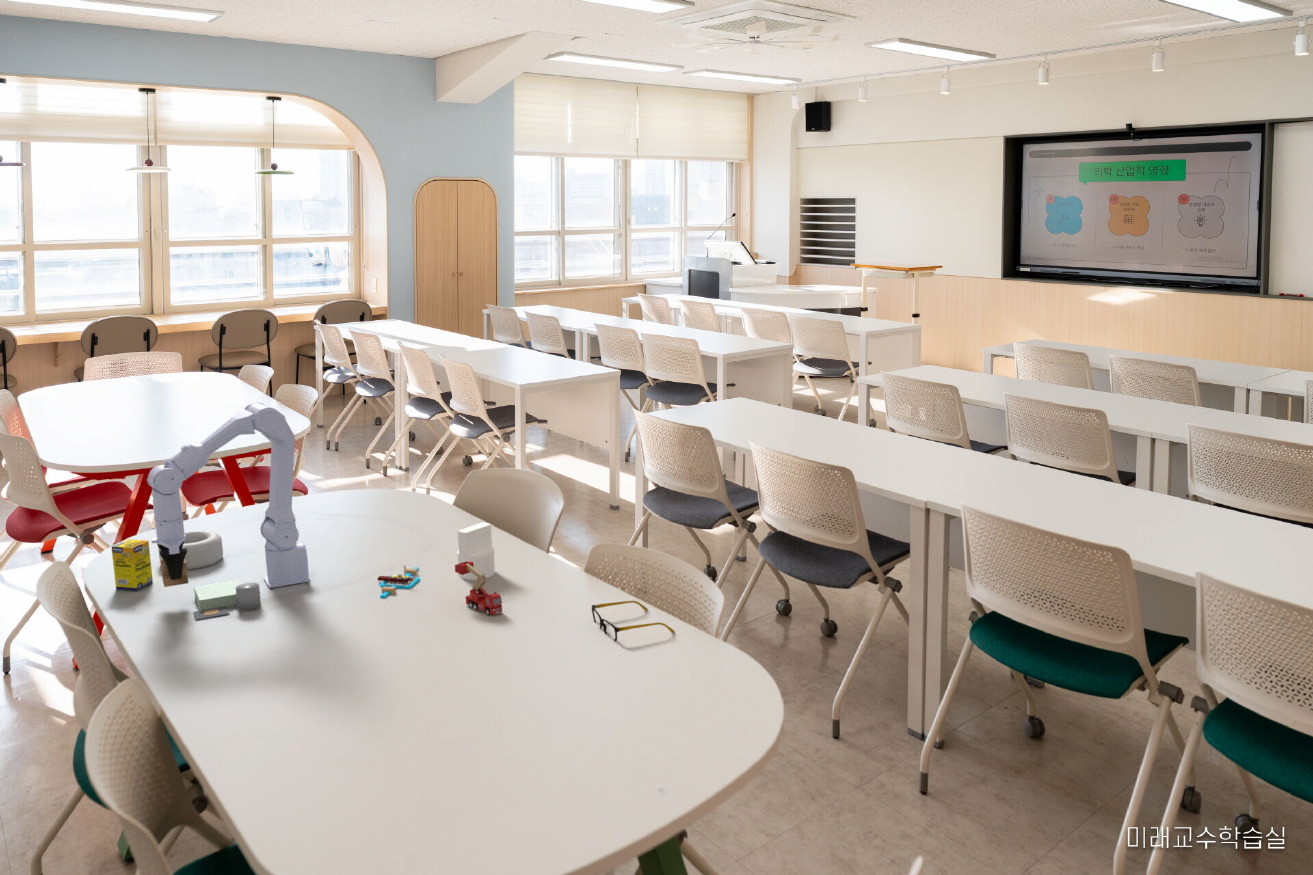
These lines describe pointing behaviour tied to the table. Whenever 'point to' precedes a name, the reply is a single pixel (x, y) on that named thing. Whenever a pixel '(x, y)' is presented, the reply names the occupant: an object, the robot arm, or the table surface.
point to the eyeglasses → (622, 627)
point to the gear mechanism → (398, 581)
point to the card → (211, 613)
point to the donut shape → (201, 548)
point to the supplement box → (132, 564)
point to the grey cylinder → (248, 596)
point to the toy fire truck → (480, 591)
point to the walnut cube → (166, 576)
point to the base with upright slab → (476, 549)
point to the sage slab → (216, 595)
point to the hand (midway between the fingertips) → (175, 575)
